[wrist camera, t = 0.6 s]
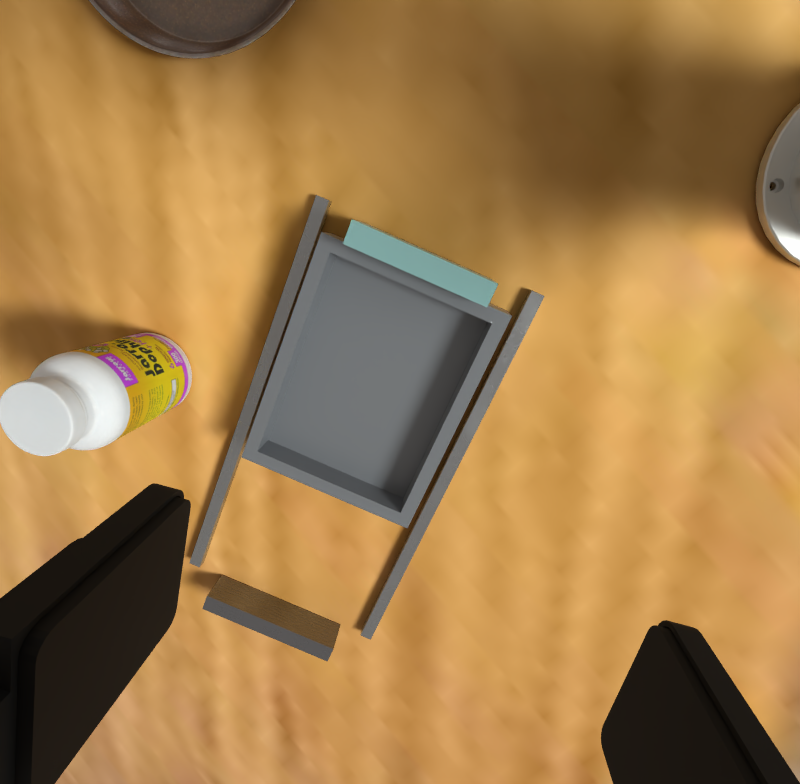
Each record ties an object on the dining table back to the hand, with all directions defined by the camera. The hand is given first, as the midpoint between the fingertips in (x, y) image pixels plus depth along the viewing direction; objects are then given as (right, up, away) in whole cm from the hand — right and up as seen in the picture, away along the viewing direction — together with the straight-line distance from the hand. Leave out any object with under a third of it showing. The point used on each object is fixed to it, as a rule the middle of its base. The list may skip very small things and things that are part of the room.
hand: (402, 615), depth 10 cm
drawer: (-2, +6, +30) cm, 31 cm away
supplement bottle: (-20, +6, +32) cm, 39 cm away
